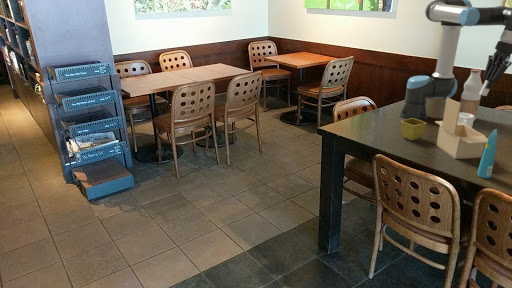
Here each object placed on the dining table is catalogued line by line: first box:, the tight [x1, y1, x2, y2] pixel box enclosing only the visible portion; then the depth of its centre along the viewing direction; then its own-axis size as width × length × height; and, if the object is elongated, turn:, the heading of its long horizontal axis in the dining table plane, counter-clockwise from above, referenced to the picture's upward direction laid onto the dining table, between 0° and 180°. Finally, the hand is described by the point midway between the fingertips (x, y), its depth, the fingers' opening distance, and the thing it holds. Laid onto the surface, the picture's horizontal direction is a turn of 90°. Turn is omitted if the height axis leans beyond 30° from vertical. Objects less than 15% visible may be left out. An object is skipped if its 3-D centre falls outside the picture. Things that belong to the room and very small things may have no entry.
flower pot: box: [400, 118, 427, 141], centre depth 188 cm, size 9×9×9 cm
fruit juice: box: [459, 68, 484, 121], centre depth 211 cm, size 9×9×28 cm
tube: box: [476, 128, 498, 179], centre depth 148 cm, size 7×5×19 cm, turn 140°
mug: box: [458, 113, 475, 129], centre depth 192 cm, size 12×9×10 cm
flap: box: [442, 97, 461, 135], centre depth 167 cm, size 10×1×14 cm, turn 4°
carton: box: [434, 120, 489, 160], centre depth 172 cm, size 28×12×10 cm, turn 4°
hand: (482, 94), depth 168 cm, fingers closed
